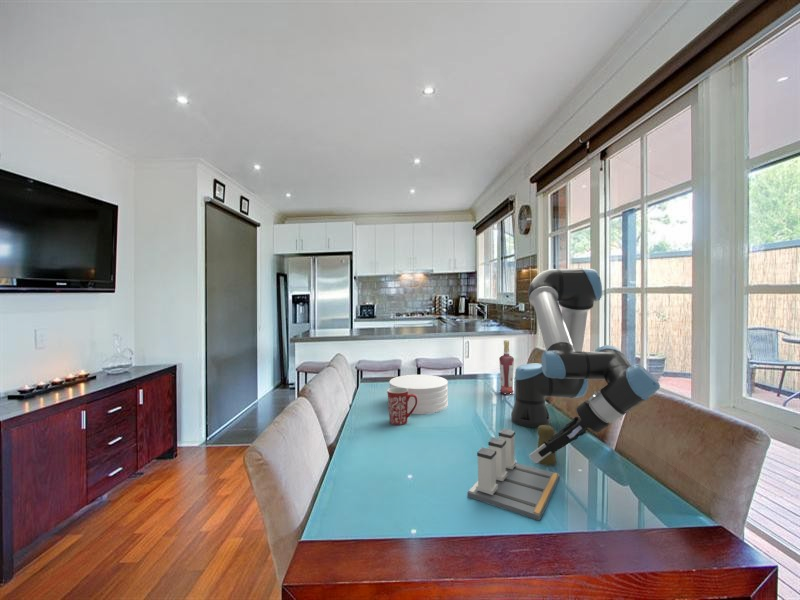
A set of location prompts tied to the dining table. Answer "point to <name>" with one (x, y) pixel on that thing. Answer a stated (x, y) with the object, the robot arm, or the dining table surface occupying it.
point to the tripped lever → (509, 446)
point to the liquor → (506, 370)
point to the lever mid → (499, 457)
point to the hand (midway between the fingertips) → (532, 458)
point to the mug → (399, 405)
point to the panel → (521, 491)
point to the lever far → (487, 471)
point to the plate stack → (424, 392)
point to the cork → (546, 434)
